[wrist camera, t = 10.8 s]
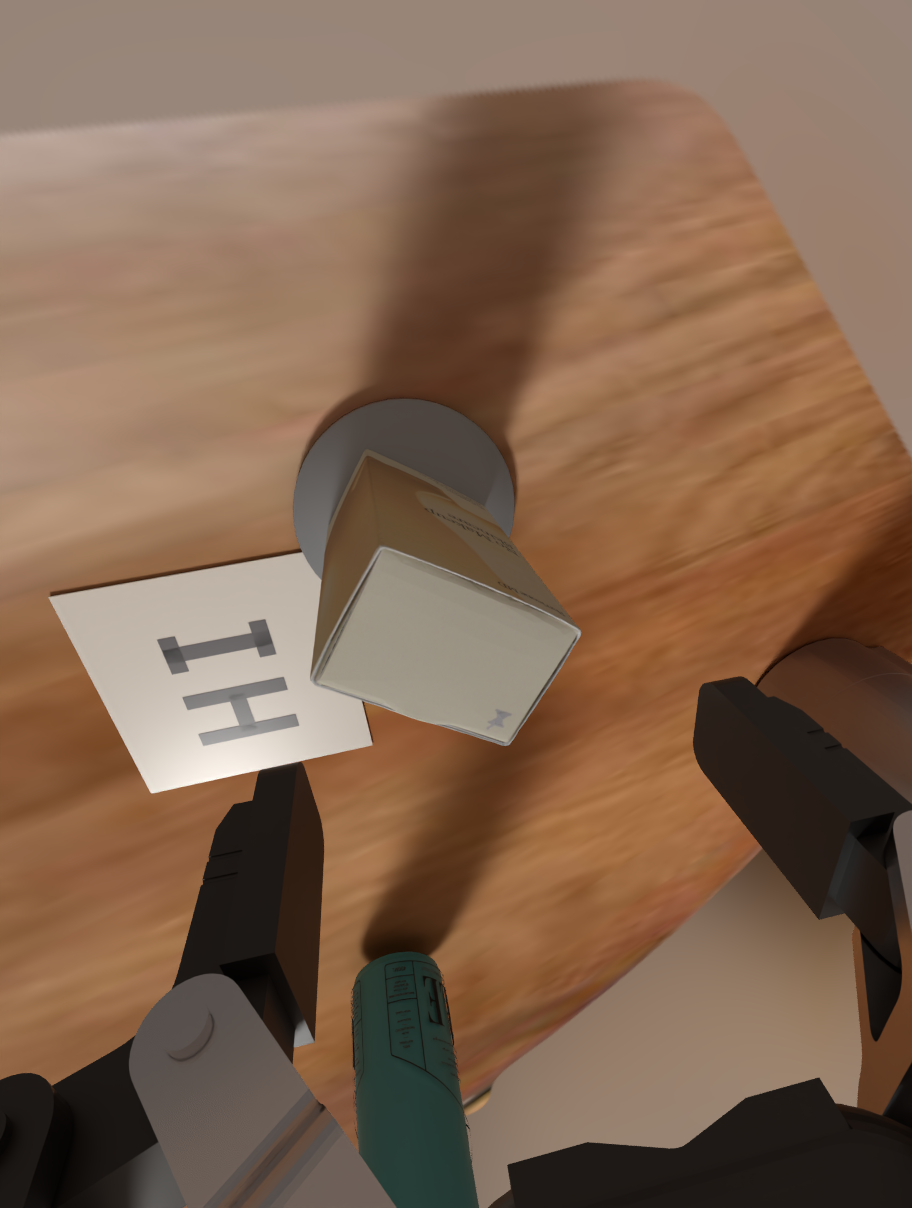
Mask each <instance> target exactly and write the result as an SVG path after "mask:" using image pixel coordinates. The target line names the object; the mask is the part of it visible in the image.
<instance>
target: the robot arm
mask: <svg viewBox="0 0 912 1208" xmlns="http://www.w3.org/2000/svg"><path fill="white" fill-rule="evenodd" d="M693 747H694V753H695V756H696V759H697V762H698V764H699V766H700V768H701V770H702V771H703V773H704V774H705V775H706V776H707V778H708V779H709V780H710V782H711V783H712V784H713V785H714V787H715V788H716V789H717V790H718V792H719V793H720V794H721V796H722V797H723V798H724V799H725V801H726V802H727V803H728V804H729V806H730V807H731V808H732V810H733V811H734V812H735V813H736V815H737V816H738V817H739V818H740V820H741V821H742V822H743V824H744V825H745V826H746V827H747V829H748V830H749V831H750V833H751V834H752V835H753V836H754V838H755V839H756V840H757V841H758V843H759V844H760V845H761V847H762V848H763V849H764V850H765V852H766V853H767V854H768V855H769V857H770V858H771V859H772V860H773V862H774V863H775V864H776V865H777V867H778V868H779V869H780V871H781V872H782V873H783V874H784V876H785V877H786V878H787V880H788V881H789V882H790V883H791V885H792V886H793V887H794V889H795V890H796V891H797V892H798V894H799V895H800V896H801V897H802V899H803V900H804V901H805V903H806V904H807V905H808V906H809V908H810V909H811V910H812V911H813V913H814V914H815V915H816V917H817V918H818V919H819V920H820V919H824V918H827V917H832V916H835V915H840V914H843V913H845V914H846V915H847V916H848V917H849V918H850V920H851V921H852V922H853V923H854V924H855V927H854V930H853V933H852V944H853V955H854V966H855V977H856V988H857V999H858V1010H859V1021H860V1032H861V1043H862V1065H861V1073H860V1079H859V1086H858V1100H857V1107H852V1106H847V1105H843V1104H835V1102H834V1101H833V1099H832V1097H831V1096H830V1094H829V1093H828V1091H827V1089H826V1088H825V1086H824V1085H823V1083H822V1081H821V1080H820V1078H815V1079H812V1080H808V1081H805V1082H801V1083H798V1084H794V1085H790V1086H787V1087H783V1088H780V1089H776V1090H773V1091H769V1092H766V1093H762V1094H759V1095H755V1096H751V1097H748V1098H745V1099H744V1100H743V1101H741V1102H740V1103H739V1104H737V1105H736V1106H735V1107H734V1108H732V1109H731V1110H730V1111H728V1112H727V1113H726V1114H725V1115H723V1116H722V1117H721V1118H719V1119H718V1120H717V1121H716V1122H714V1123H713V1124H712V1125H710V1126H709V1127H708V1128H707V1129H706V1130H704V1131H703V1132H701V1133H700V1134H699V1135H698V1136H696V1137H695V1138H694V1139H692V1140H691V1141H690V1142H689V1143H687V1144H686V1145H684V1146H682V1147H679V1148H674V1149H668V1148H655V1147H641V1146H628V1145H616V1144H603V1143H589V1142H587V1143H583V1144H580V1145H576V1146H573V1147H569V1148H566V1149H562V1150H558V1151H555V1152H551V1153H548V1154H544V1155H541V1156H537V1157H533V1158H530V1159H527V1160H523V1161H519V1162H516V1163H512V1164H509V1165H507V1166H508V1172H509V1179H510V1185H511V1190H509V1191H508V1192H507V1193H506V1194H504V1195H503V1196H501V1197H500V1198H499V1199H497V1200H496V1201H495V1202H493V1204H491V1205H490V1207H488V1208H912V664H911V663H909V662H907V661H906V660H904V659H902V658H901V657H899V656H897V655H896V654H894V653H892V652H891V651H889V650H887V649H886V648H884V647H882V646H880V647H875V648H867V647H865V646H863V645H862V644H860V643H858V642H857V641H854V640H850V639H845V638H831V639H826V640H822V641H817V642H815V643H812V644H809V645H807V646H804V647H802V648H800V649H799V650H797V651H795V652H793V653H792V654H790V655H788V656H787V657H786V658H784V659H783V660H782V661H781V662H779V663H778V664H777V665H775V666H774V667H773V668H772V669H771V671H770V672H769V673H768V674H767V675H766V676H765V677H764V678H763V679H762V681H761V682H760V683H759V685H758V686H757V687H756V686H755V685H753V684H752V683H751V682H750V681H749V680H748V679H746V678H744V677H734V678H729V679H723V680H718V681H713V682H708V683H704V684H703V685H702V686H701V688H700V690H699V697H698V705H697V713H696V721H695V729H694V737H693ZM323 863H324V838H323V829H322V823H321V819H320V815H319V812H318V809H317V806H316V803H315V799H314V796H313V793H312V790H311V787H310V784H309V780H308V777H307V774H306V771H305V768H304V766H303V764H302V763H301V762H297V763H292V764H287V765H282V766H277V767H272V768H267V769H262V770H260V772H259V774H258V777H257V782H256V787H255V791H254V796H253V801H248V802H243V803H238V804H234V805H233V806H232V807H231V809H230V810H229V812H228V813H227V815H226V816H225V817H224V819H223V820H222V822H221V823H220V825H219V826H218V827H217V829H216V831H215V835H214V839H213V842H212V846H211V850H210V854H209V862H207V865H206V869H205V872H204V876H203V885H201V887H200V891H199V895H198V899H197V903H196V906H195V910H194V914H193V918H192V921H191V925H190V929H189V933H188V936H187V940H186V944H185V948H184V951H183V955H182V959H181V963H180V967H179V970H178V974H177V977H176V980H175V983H174V985H173V987H172V989H171V990H170V991H169V992H168V993H167V994H166V995H164V996H163V997H162V998H161V999H160V1000H159V1001H158V1002H157V1003H156V1004H155V1006H154V1007H153V1008H152V1009H151V1010H150V1012H149V1013H148V1014H147V1016H146V1017H145V1019H144V1020H143V1022H142V1024H141V1025H140V1027H139V1029H138V1031H137V1033H136V1035H135V1036H134V1037H133V1038H131V1039H130V1040H129V1041H127V1042H126V1043H125V1044H123V1045H122V1046H120V1047H119V1048H117V1049H115V1050H114V1051H112V1052H110V1053H109V1054H107V1055H105V1056H103V1057H102V1058H100V1059H98V1060H96V1061H95V1062H93V1063H91V1064H89V1065H88V1066H86V1067H84V1068H82V1069H81V1070H79V1071H77V1072H75V1073H74V1074H72V1075H70V1076H68V1077H67V1078H65V1079H63V1080H61V1081H60V1082H58V1083H56V1084H54V1085H53V1086H51V1084H50V1083H49V1082H48V1081H47V1080H46V1079H44V1078H43V1077H41V1076H40V1075H37V1074H33V1073H21V1074H17V1075H12V1076H9V1077H7V1078H4V1079H2V1080H0V1208H183V1207H185V1206H186V1205H187V1208H396V1206H395V1205H394V1203H393V1202H392V1200H391V1199H390V1197H389V1196H388V1195H387V1193H386V1192H385V1190H384V1189H383V1187H382V1186H381V1184H380V1183H379V1182H378V1180H377V1179H376V1177H375V1176H374V1174H373V1173H372V1171H371V1170H370V1169H369V1167H368V1166H367V1164H366V1163H365V1161H364V1160H363V1159H362V1157H361V1156H360V1154H359V1153H358V1151H357V1150H356V1148H355V1147H354V1146H353V1144H352V1143H351V1141H350V1140H349V1138H348V1137H347V1135H346V1134H345V1133H344V1131H343V1130H342V1128H341V1127H340V1125H339V1124H338V1123H337V1121H336V1120H335V1119H334V1117H333V1116H332V1115H331V1113H330V1112H329V1111H328V1110H327V1108H326V1107H325V1106H324V1105H323V1104H320V1103H319V1102H318V1100H317V1099H316V1098H315V1097H314V1095H313V1094H312V1092H311V1091H310V1089H309V1088H308V1087H307V1085H306V1084H305V1082H304V1081H303V1079H302V1078H301V1076H300V1075H299V1073H298V1072H297V1071H296V1069H295V1068H294V1066H293V1065H292V1064H293V1051H294V1047H298V1046H302V1045H306V1044H310V1043H314V1042H315V1023H316V1003H317V983H318V963H319V943H320V923H321V903H322V883H323Z"/></svg>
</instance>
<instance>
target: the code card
mask: <svg viewBox="0 0 912 1208" xmlns="http://www.w3.org/2000/svg"><path fill="white" fill-rule="evenodd" d="M321 581H322V580H321V579H320V578H319V577H318V576H317V575H316V574H315V572H314V571H313V569H312V568H311V566H310V565H309V563H308V562H307V560H306V558H305V556H304V554H303V552H298V553H292V554H287V555H281V556H275V557H270V558H264V559H258V560H253V561H247V562H241V563H236V564H230V565H224V566H219V567H213V568H207V569H202V570H196V571H190V572H185V573H179V574H173V575H168V576H162V577H156V578H151V579H145V580H139V581H134V582H128V583H122V584H117V585H111V586H105V587H100V588H94V589H88V590H83V591H77V592H71V593H66V594H60V595H54V596H49V599H50V601H51V603H52V605H53V607H54V609H55V611H56V613H57V615H58V617H59V618H60V620H61V622H62V624H63V626H64V628H65V630H66V632H67V634H68V636H69V638H70V639H71V641H72V643H73V645H74V647H75V649H76V651H77V653H78V655H79V657H80V659H81V660H82V662H83V664H84V666H85V668H86V670H87V672H88V674H89V676H90V678H91V680H92V681H93V683H94V685H95V687H96V689H97V691H98V693H99V695H100V697H101V699H102V701H103V702H104V704H105V706H106V708H107V710H108V712H109V714H110V716H111V718H112V720H113V722H114V723H115V725H116V727H117V729H118V731H119V733H120V735H121V737H122V739H123V741H124V743H125V744H126V746H127V748H128V750H129V752H130V754H131V756H132V758H133V760H134V762H135V764H136V765H137V767H138V769H139V771H140V773H141V775H142V777H143V779H144V781H145V783H146V785H147V786H148V788H149V790H150V792H151V794H152V793H156V792H161V791H165V790H170V789H175V788H179V787H184V786H188V785H193V784H197V783H202V782H207V781H211V780H216V779H220V778H225V777H229V776H234V775H238V774H243V773H248V772H252V771H257V770H261V769H266V768H270V767H275V766H280V765H284V764H289V763H293V762H298V761H302V760H307V759H312V758H316V757H321V756H325V755H330V754H334V753H339V752H344V751H348V750H353V749H357V748H362V747H366V746H371V745H373V744H372V740H371V736H370V732H369V728H368V724H367V719H366V715H365V711H364V707H363V703H362V701H361V700H358V699H355V698H352V697H348V696H345V695H342V694H339V693H336V692H333V691H330V690H327V689H323V688H320V687H317V686H315V685H314V684H313V683H312V682H311V681H310V673H311V666H312V658H313V649H314V642H315V632H316V624H317V616H318V608H319V598H320V590H321Z"/></svg>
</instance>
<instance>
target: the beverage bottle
mask: <svg viewBox="0 0 912 1208" xmlns="http://www.w3.org/2000/svg"><path fill="white" fill-rule="evenodd" d="M440 972H441V971H440V970H439V968H438V966H437V964H436V963H435V961H434V960H433V959H432V958H430V957H429V956H427V955H425V954H422V953H418V952H398V953H392V954H388V955H385V956H382V957H380V958H378V959H375V960H374V961H372V962H370V963H369V964H367V965H366V966H365V967H364V968H363V969H362V970H361V971H360V972H359V974H358V975H357V977H356V980H355V984H354V987H353V989H352V990H353V1000H352V1002H353V1004H352V1002H351V1005H352V1007H353V1009H352V1007H351V1011H353V1014H354V1016H353V1014H352V1016H353V1018H354V1021H353V1019H352V1026H351V1030H352V1033H353V1060H352V1064H353V1067H354V1069H355V1075H356V1076H355V1077H356V1091H354V1092H355V1094H356V1096H355V1098H356V1103H355V1102H354V1104H356V1105H355V1106H356V1107H357V1111H356V1113H357V1118H356V1119H357V1131H358V1136H357V1138H358V1144H359V1154H360V1156H361V1157H362V1159H363V1160H364V1161H365V1163H366V1164H367V1166H368V1167H369V1169H370V1170H371V1171H372V1173H373V1174H374V1176H375V1177H376V1179H377V1180H378V1182H379V1183H380V1184H381V1186H382V1187H383V1189H384V1190H385V1192H386V1193H387V1195H388V1196H389V1197H390V1199H391V1200H392V1202H393V1203H394V1205H395V1206H396V1208H479V1205H478V1199H477V1193H476V1187H475V1181H474V1175H473V1169H472V1161H471V1157H470V1151H469V1142H468V1135H467V1129H466V1126H467V1127H468V1125H467V1124H466V1123H465V1116H466V1115H465V1116H464V1114H465V1113H464V1110H463V1104H462V1098H461V1092H460V1086H459V1080H460V1079H459V1078H458V1074H457V1068H456V1064H457V1063H455V1057H454V1055H455V1054H454V1051H453V1045H454V1039H453V1032H452V1026H451V1019H450V1012H449V1006H448V1001H447V995H446V990H445V988H444V991H443V987H444V986H443V985H444V984H443V985H442V981H444V980H443V978H442V977H441V973H440ZM442 975H443V974H442ZM351 993H352V992H351ZM444 993H445V997H444ZM445 998H446V1000H445ZM445 1002H446V1003H445ZM446 1004H447V1009H448V1012H447V1009H446ZM448 1015H449V1018H448ZM449 1021H450V1023H449ZM449 1026H450V1027H451V1028H450V1027H449ZM450 1031H451V1033H450ZM451 1035H452V1039H451ZM452 1040H453V1045H452ZM354 1046H355V1048H354ZM456 1054H457V1053H456ZM456 1059H457V1058H456ZM457 1061H458V1060H457ZM457 1067H458V1065H457ZM458 1079H459V1080H458ZM354 1080H355V1079H354ZM354 1085H355V1083H354ZM353 1099H354V1095H353ZM354 1123H355V1122H354ZM468 1128H469V1127H468ZM355 1130H356V1129H355ZM356 1134H357V1132H356Z"/></svg>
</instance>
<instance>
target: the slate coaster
mask: <svg viewBox="0 0 912 1208" xmlns="http://www.w3.org/2000/svg"><path fill="white" fill-rule="evenodd" d="M366 449H369V450H371V451H374V452H376V453H378V454H380V455H382V456H385V457H387V458H389V459H391V460H394V461H396V462H398V463H400V464H402V465H404V466H407V467H409V468H411V469H413V470H416V471H418V472H420V473H422V474H424V475H426V476H428V477H430V478H432V479H434V480H436V481H438V482H440V483H442V484H444V485H446V486H448V487H450V488H452V489H454V490H456V491H458V492H460V493H461V494H463V495H465V496H467V497H469V498H471V499H472V500H474V501H476V502H478V503H480V504H481V505H483V506H484V507H485V508H486V509H487V510H488V512H489V513H490V514H491V515H492V517H493V518H494V519H495V521H496V522H497V523H498V525H499V526H500V527H501V529H502V530H503V531H504V533H505V534H506V535H507V536H508V538H509V537H510V534H511V530H512V526H513V519H514V491H513V484H512V480H511V477H510V473H509V470H508V468H507V465H506V463H505V461H504V458H503V457H502V455H501V453H500V452H499V450H498V448H497V447H496V445H495V444H494V443H493V441H492V440H491V439H490V438H489V436H488V435H487V434H486V433H485V432H484V431H483V430H482V429H481V428H480V427H478V426H477V425H476V424H475V423H474V422H472V421H471V420H469V419H468V418H467V417H465V416H464V415H462V414H461V413H459V412H457V411H455V410H453V409H451V408H449V407H447V406H444V405H441V404H439V403H436V402H432V401H427V400H423V399H415V398H394V399H385V400H381V401H376V402H372V403H369V404H367V405H364V406H361V407H359V408H357V409H355V410H353V411H351V412H349V413H347V414H345V415H344V416H342V417H341V418H340V419H338V420H337V421H336V422H334V423H333V424H332V425H331V426H330V427H329V428H327V429H326V430H325V431H324V432H323V433H322V434H321V435H320V437H319V438H318V439H317V441H316V442H315V443H314V445H313V446H312V447H311V449H310V451H309V452H308V454H307V456H306V458H305V459H304V462H303V464H302V467H301V469H300V472H299V474H298V479H297V483H296V487H295V491H294V501H293V518H294V526H295V531H296V536H297V539H298V542H299V545H300V548H301V550H302V552H303V554H304V556H305V558H306V560H307V562H308V563H309V565H310V566H311V568H312V569H313V571H314V572H315V574H316V575H317V576H318V577H319V578H320V579H321V580H322V573H323V565H324V554H325V546H326V538H327V530H328V526H329V524H330V522H331V520H332V517H333V515H334V513H335V511H336V508H337V506H338V504H339V502H340V499H341V497H342V495H343V493H344V491H345V489H346V487H347V485H348V483H349V481H350V479H351V476H352V474H353V472H354V470H355V468H356V466H357V464H358V462H359V460H360V458H361V456H362V454H363V452H364V451H365V450H366Z"/></svg>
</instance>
